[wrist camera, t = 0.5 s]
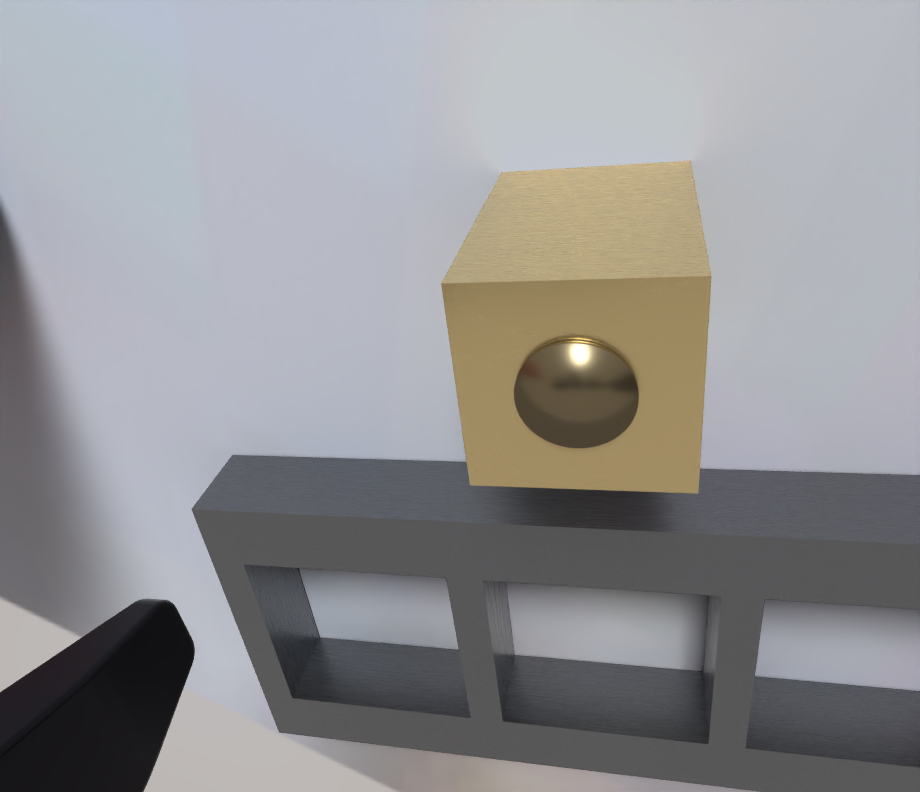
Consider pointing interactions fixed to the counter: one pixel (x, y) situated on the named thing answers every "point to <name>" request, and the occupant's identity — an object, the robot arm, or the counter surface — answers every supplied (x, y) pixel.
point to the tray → (582, 565)
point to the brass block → (583, 330)
